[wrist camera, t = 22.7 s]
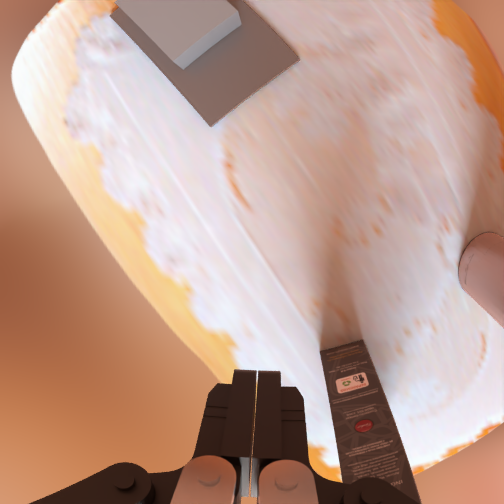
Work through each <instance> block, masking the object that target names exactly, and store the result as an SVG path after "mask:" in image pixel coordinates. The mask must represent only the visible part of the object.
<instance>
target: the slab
mask: <svg viewBox="0 0 504 504" xmlns="http://www.w3.org/2000/svg"><path fill="white" fill-rule="evenodd" d="M114 3H115V4H116V5H118V6H119V7H120V8H121V9H122V10H123V11H124V12H125V13H126V14H127V15H128V16H129V17H130V18H131V19H132V20H133V21H134V22H135V23H136V24H137V25H138V26H139V27H140V28H141V29H142V30H143V31H144V32H145V33H146V34H147V35H148V36H149V37H150V38H151V39H152V40H153V41H154V42H155V43H156V44H157V45H158V46H159V47H160V49H161V50H162V51H163V52H164V53H165V54H166V55H167V56H168V57H169V58H170V59H171V60H172V61H173V62H174V63H175V64H177V65H178V66H179V67H181V68H182V69H183V70H184V69H185V68H186V67H187V66H189V65H190V64H191V63H192V62H193V61H195V60H196V59H197V58H198V57H199V56H201V55H202V54H203V53H204V52H206V51H207V50H208V49H209V48H211V47H212V46H213V45H215V44H216V43H217V42H219V41H220V40H221V39H223V38H224V37H225V36H227V35H228V34H229V33H231V32H232V31H233V30H235V29H236V28H238V27H239V26H240V25H242V24H241V20H240V16H239V13H238V10H236V9H235V8H234V7H233V6H232V5H231V4H230V3H229V2H228V1H227V0H117V1H116V2H114Z"/></svg>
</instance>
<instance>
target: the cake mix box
mask: <svg viewBox="0 0 504 504" xmlns="http://www.w3.org/2000/svg"><path fill="white" fill-rule="evenodd" d="M320 355H321V360H322V366H323V371H324V376H325V381H326V386H327V392H328V397H329V403H330V408H331V414H332V420H333V425H334V431H335V437H336V443H337V449H338V456H339V462H340V468H341V475H342V481H343V483H346V484H351V483H353V482H354V481H356V480H358V479H361V478H366V477H376V478H380V479H383V480H385V481H387V482H388V483H390V484H391V485H392V486H394V487H395V488H397V489H398V490H400V491H401V492H403V493H404V494H406V495H407V496H409V497H410V498H412V499H413V500H415V501H416V502H418V503H419V504H422V503H421V499H420V496H419V493H418V490H417V486H416V483H415V480H414V477H413V473H412V470H411V467H410V464H409V461H408V458H407V455H406V452H405V449H404V446H403V443H402V440H401V437H400V435H399V432H398V429H397V426H396V423H395V420H394V418H393V415H392V412H391V409H390V407H389V404H388V401H387V399H386V396H385V393H384V391H383V388H382V385H381V383H380V380H379V378H378V375H377V372H376V370H375V367H374V365H373V362H372V360H371V357H370V355H369V352H368V350H367V347H366V345H365V343H364V340H360V341H356V342H353V343H349V344H346V345H342V346H339V347H335V348H331V349H328V350H324V351H320Z"/></svg>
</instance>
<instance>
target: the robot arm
mask: <svg viewBox="0 0 504 504" xmlns="http://www.w3.org/2000/svg"><path fill="white" fill-rule="evenodd" d="M459 281H460V284H461V286H462V288H463V289H464V291H465V292H466V293H467V294H468V295H470V296H471V297H472V298H473V299H474V300H475V301H476V302H477V303H478V304H479V305H480V306H481V307H482V308H483V309H484V310H485V311H486V312H487V313H488V314H489V315H491V316H492V317H493V318H494V319H495V320H496V321H497V322H498V323H499V324H500V325H501V326H502V327H503V328H504V238H503V237H501V236H499V235H497V234H495V233H491V232H488V233H483V234H481V235H479V236H477V237H476V238H475V239H473V240H472V242H471V243H470V244H469V245H468V246H467V248H466V249H465V251H464V253H463V255H462V258H461V261H460V265H459ZM256 374H257V371H256V370H238V369H235V370H234V374H233V380H232V384H220V383H218V384H217V385H216V386H215V387H214V388H213V389H212V390H211V391H210V392H209V394H208V398H207V402H206V408H205V410H204V415H203V419H202V423H201V427H200V432H199V435H198V440H197V444H196V448H195V452H194V455H193V457H192V459H191V460H190V461H189V462H188V463H187V464H186V465H185V466H183V467H182V468H180V469H178V470H175V471H170V472H162V473H147V471H146V470H145V469H143V468H142V467H140V466H138V465H136V464H133V463H127V462H123V463H117V464H114V465H112V466H109V467H108V468H106V469H104V470H102V471H100V472H98V473H96V474H94V475H92V476H90V477H88V478H86V479H84V480H82V481H79V482H77V483H75V484H73V485H71V486H69V487H67V488H65V489H62V490H60V491H58V492H56V493H53V494H51V495H49V496H46V497H44V498H42V499H39V500H37V501H34V502H32V503H30V504H241V497H242V496H243V497H248V495H249V483H250V471H251V458H252V478H251V497H257V504H419V503H418V502H416V501H415V500H413V499H412V498H410V497H409V496H407V495H406V494H404V493H403V492H401V491H400V490H398V489H397V488H395V487H394V486H392V485H391V484H390V483H388V482H387V481H385V480H383V479H380V478H376V477H366V478H361V479H358V480H356V481H354V482H353V483H351V484H346V483H340V482H335V481H331V480H328V479H325V478H323V477H321V476H320V475H318V474H317V473H316V472H315V471H314V470H313V469H312V467H311V465H310V463H309V457H308V444H307V432H306V423H305V412H304V399H303V396H302V395H301V394H300V392H299V391H298V389H297V388H296V387H281V372H280V371H258V385H257V399H256ZM255 401H256V413H255ZM254 419H255V427H254ZM253 432H254V442H253ZM252 446H253V454H252Z"/></svg>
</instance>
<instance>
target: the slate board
mask: <svg viewBox="0 0 504 504" xmlns="http://www.w3.org/2000/svg"><path fill="white" fill-rule="evenodd" d="M227 1H228V2H229V3H230V4H231V5H232V6H233V7H234V8H235V9H236V10H238V13H239V16H240V20H241V24H242V25H240V26H239V27H238V28H236V29H235V30H233V31H232V32H231V33H229V34H228V35H227V36H225V37H224V38H223V39H221V40H220V41H219V42H217V43H216V44H215V45H213V46H212V47H211V48H209V49H208V50H207V51H206V52H204V53H203V54H202V55H201V56H199V57H198V58H197V59H196V60H195V61H193V62H192V63H191V64H190V65H189V66H187V67H186V68H185V69H184V70H183V69H182V68H181V67H179V66H178V65H177V64H175V63H174V62H173V61H172V60H171V59H170V58H169V57H168V56H167V55H166V54H165V53H164V52H163V51H162V50H161V49H160V47H159V46H158V45H157V44H156V43H155V42H154V41H153V40H152V39H151V38H150V37H149V36H148V35H147V34H146V33H145V32H144V31H143V30H142V29H141V28H140V27H139V26H138V25H137V24H136V23H135V22H134V21H133V20H132V19H131V18H130V17H129V16H128V15H127V14H126V13H125V12H124V11H123V10H122V9H121V8H120V7H119V8H118V9H116V10H115V11H114V12H113V13H112V14H111V15H110V17H111V18H112V19H113V20H114V21H115V22H116V23H117V24H118V25H119V26H120V27H121V28H122V29H123V30H124V31H125V32H126V33H127V35H128V36H129V37H130V38H131V39H132V40H133V41H134V42H135V43H136V44H137V45H138V46H139V47H140V48H141V49H142V51H143V52H144V53H145V54H146V55H147V56H148V57H149V58H150V59H151V60H152V61H153V63H154V64H155V65H156V66H157V67H158V68H159V69H160V70H161V71H162V72H163V74H164V75H165V76H166V77H167V78H168V79H169V80H170V81H171V82H172V84H173V85H174V86H175V87H176V88H177V89H178V90H179V91H180V93H181V94H182V95H183V96H184V97H185V98H186V99H187V101H188V102H189V103H190V104H191V105H192V106H193V107H194V109H195V110H196V111H197V112H198V113H199V114H200V115H201V117H202V118H203V119H204V120H205V121H206V122H207V124H208V125H209V126H210V127H212V126H214V125H215V124H216V123H217V122H218V121H220V120H221V119H222V118H223V117H225V116H226V115H227V114H228V113H230V112H231V111H232V110H233V109H235V108H236V107H237V106H238V105H240V104H241V103H242V102H244V101H245V100H246V99H247V98H249V97H250V96H251V95H253V94H254V93H255V92H257V91H258V90H259V89H261V88H262V87H263V86H265V85H266V84H267V83H269V82H270V81H271V80H273V79H274V78H276V77H277V76H278V75H280V74H281V73H283V72H284V71H285V70H287V69H288V68H290V67H291V66H293V65H294V64H295V63H297V62H298V61H299V60H300V59H299V58H298V56H297V55H296V54H295V53H294V52H293V51H292V50H291V49H290V48H289V47H288V45H287V44H286V43H285V42H284V41H283V40H282V39H281V38H280V37H279V36H278V35H277V34H276V33H275V32H274V31H273V30H272V29H271V28H270V27H269V26H268V25H267V24H266V23H265V22H264V21H263V20H262V19H261V18H260V17H259V16H258V15H257V14H256V13H255V12H254V11H253V10H252V9H251V8H250V7H249V6H248V5H247V4H246V3H245V2H244V1H243V0H227Z"/></svg>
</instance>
